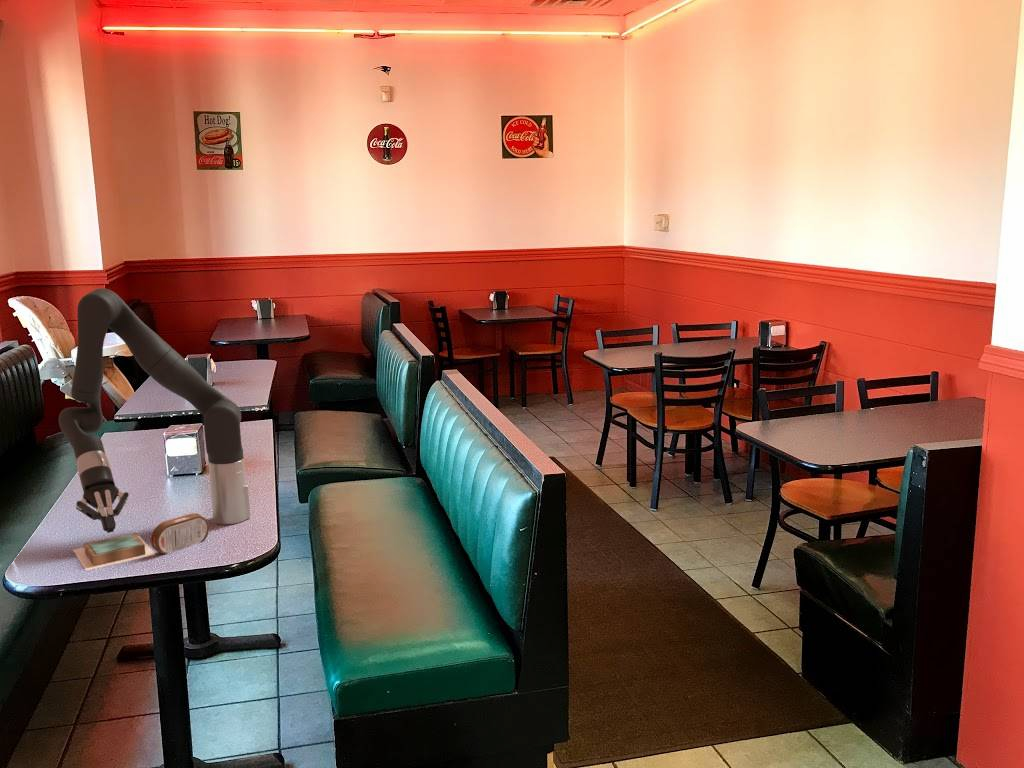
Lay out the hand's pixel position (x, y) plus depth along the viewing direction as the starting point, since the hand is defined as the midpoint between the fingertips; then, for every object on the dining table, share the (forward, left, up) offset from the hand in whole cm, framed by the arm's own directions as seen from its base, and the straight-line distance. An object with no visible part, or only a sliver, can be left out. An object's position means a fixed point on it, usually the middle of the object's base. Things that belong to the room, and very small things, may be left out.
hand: (110, 530), depth 223 cm
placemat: (0, +1, -6) cm, 6 cm away
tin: (-15, +8, -6) cm, 18 cm away
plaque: (0, -2, -4) cm, 5 cm away
